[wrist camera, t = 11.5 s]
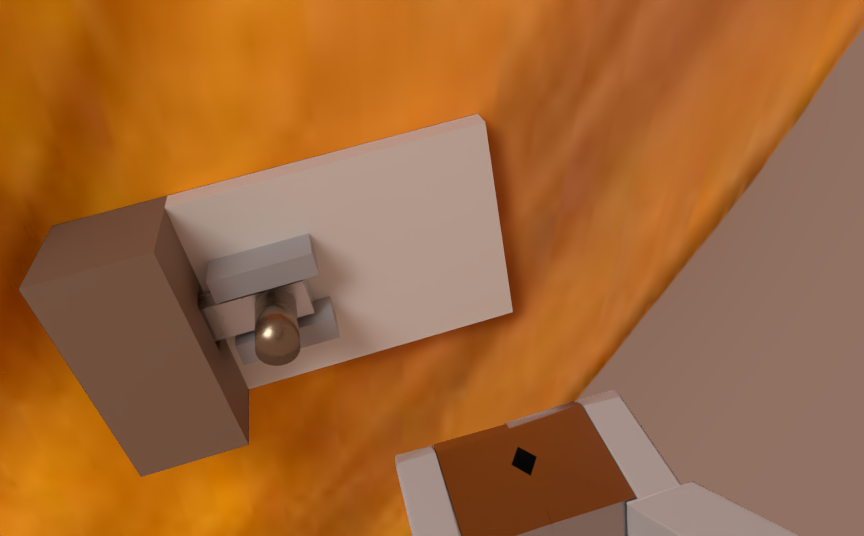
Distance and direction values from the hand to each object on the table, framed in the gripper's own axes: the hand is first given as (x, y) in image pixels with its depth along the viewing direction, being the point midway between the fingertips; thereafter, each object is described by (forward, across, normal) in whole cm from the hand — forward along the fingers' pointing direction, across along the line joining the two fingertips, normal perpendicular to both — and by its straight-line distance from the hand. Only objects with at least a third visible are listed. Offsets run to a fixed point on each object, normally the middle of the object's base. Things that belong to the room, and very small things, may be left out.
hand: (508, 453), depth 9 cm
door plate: (+31, +5, +15) cm, 35 cm away
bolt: (+29, +10, +15) cm, 35 cm away
